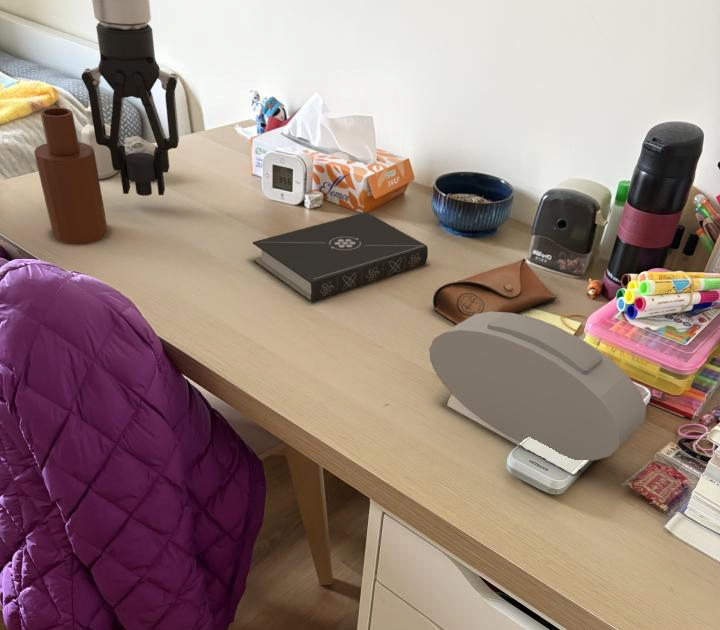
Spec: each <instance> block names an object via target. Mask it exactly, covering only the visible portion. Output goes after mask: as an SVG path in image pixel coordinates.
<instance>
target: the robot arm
mask: <svg viewBox="0 0 720 630" xmlns="http://www.w3.org/2000/svg"><path fill="white" fill-rule="evenodd" d="M91 2H92V8H93V14H94V18H95V19H96V20H97V21H98V23H97V25H96V35H97V43H98V49H99V50H98V51H99V57H100V59H99V63H98V66H96V67H94V68H85V69H84V71H83V72H82V74H81V80H82V82H83V84H84V86H85V88H86V90H87V93H88V99H89V100H90V106H91V113H92V119H93V125H94V132H95V138H96V142H97V144H99V145H104V146H106V147H108V148H109V149H110V152H111V159H112V166H113V169H114V170H116V171H118V172H120V173H119V174H120V180H121V188H122V194H123V195H128V194H129V193H130V190H131V181H130V180H128V179H127V175H126V167H125V159H124V158H125V156H126V152H125V146H124V145H123V144H122V145H121V144H120V142H121V141H120V137H121V130H122V129H121V128H122V121H123V120H122V119H123V109H124V102H125V101H124V100H125V99H126V98H131V97H132V98H135V99H140V101H141V104H142V106H143V109H144V112H145V114H146V117H147V120H148V123H149V125H150V129H151V131H152V134H153V137H154V141H155V143H156V147H155V151H154V158H155V167H156V176H157V180H156V183H157V195H158V196H164V194H165V189H166V187H165V177H164V173H169V170H170V159H169V150H172V149H178V146H179V142H180V135H179V124H178V113H177V101H176V88H177V84H178V80H179V79H178V78H179V77H178V75H177V74H176V73H168V72H166V71H163V70H161V68H160V66H159V65H158V63H157V60H156V55H155V45H154V44H155V43H154V34H153V28H152V27H151V25H150V24H149V23H150V22H151V20H152V15H151V13H152V12H151V6H150V0H91ZM101 77H102V78H103V79H104V80H105V82H106V83H107V84H108V85H109V87H110V88H111V89H112V91H113V93H112V109H111V118H110V127H111V129H110V136H109V135H106V129H105V116H104V110H103V109H104V108H103V103H102V102H103V101H102V98H101V97H102V96H101V90H100V84H101V82H102V81H101ZM158 80H159V81H160V84H161V88H162V89H163V90H164V91H165V95H164V96H165V97H164V98H165V107H166V108H165V109H166V119H167V129H168V137H166V134H165V131H164V128H163V125H162V122H161V118H160V116H159V113H158V110H157V107H156V103H155V100H154V96H153V93H152V90H153V88H154V86H155V84H156V83H157V81H158ZM89 100H88V101H89Z"/></svg>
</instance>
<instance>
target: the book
mask: <svg viewBox="0 0 720 630" xmlns="http://www.w3.org/2000/svg"><path fill="white" fill-rule="evenodd" d="M252 244H253V245H254V246H255V247H256V248H258V249H260V250H261V256H260V257H256V258H254V259H253V262H254V263H255V264H257V265H258V266H260V267H261V268H262V269H264V271H267V272H268V273H269V274H271V275H272V276H274V277H275V278H277V280H279V281H280V282H282V283H284V284H285V285H286V286H288V287H289V288H290V289H292V290H294V291H295V292H296V293H297V294H299V295H300V296H302V297H303V298H305V299H306V300H307V301H309V302H310V303H314V302H317V301H320V300H323V299H327V298H329V297H332V296H336V295H338V294H341V293H344V292H347V291H350V290H353V289H354V290H355V289H356V288H359V287H363V286H366V285H368V284H372V283H375V282H377V281H380V280H381V281H382V280H383V279H386V278H390V277H393V276H396V275H399V274H402V273H405V272H408V271H411V270H414V269H418V268H420V267H423V266H425V265H426V263H427V261H428V255H429V247H428V245H427V244H425V243H424V242H421V241H420V240H418V239H416V238H414V237H412V236H411V235H408V234H406V233H405V232H403V231H401V230H399V229H398V228H397V227H394V226H392V225H391V224H389V223H387V222H386V221H383V220H382V219H380V218H379V217H376V216H375V215H373V214H371V213H369V212H368V211H365V212H361V213H357V214H352V215H350V216H349V215H348V216H346V217H342V218H338V219H334V220H331V221H326V222H322V223H318V224H315V225H311V226H308V227H304V228H299V229H296V230H292V231H288V232H285V233H281V234H277V235H273V236H269V237H265V238H261V239H257V240H255V241H252Z"/></svg>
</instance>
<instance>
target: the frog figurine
mask: <svg viewBox="0 0 720 630" xmlns="http://www.w3.org/2000/svg"><path fill="white" fill-rule="evenodd" d="M122 145H124V146H125V152H126V155H128V154H131V153H148V154H152V155H154V151H155V147H157V145H155V144H154V143H151V142H149V141H148V140H145V139H144V138H142V137H141V136H138V135H134V136H133V135H132V136H131V137H130V136H127V137H125V138H124V143H123V144H122Z"/></svg>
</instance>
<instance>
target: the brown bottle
mask: <svg viewBox="0 0 720 630" xmlns="http://www.w3.org/2000/svg"><path fill="white" fill-rule="evenodd" d="M39 114H40V118H41V122H42V127H43V132H44V136H45V141H46V143H43V144H41V145H39V146H36V148H35V149H34V151H33V152H34V153H33V154H34V158H35V162H36V166H37V171H38V175H39V179H40V180H39V181H40V184H41V189H42V193H43V198H44V203H45V207H46V210H47V211H46V212H47V215H48V220H49V223H50V227H51V231H52V234H53V237H54V238H55V239H56V240H57V241H59V242H61V243H66V244H71V245H84V244H91V243H95V242H98V241H100V240H102V239H103V238H105V237H106V236H107V235H108V222H107V217H106V212H105V205H104V200H103V195H102V189H101V183H100V179H99V177H98V171H97V165H96V159H95V154H94V149H93V148H92V147H91V146H90V145H87V144H85V143H83V142H82V141H81V142H80V141H79V140H78V139H79V138H78V134H77V128H76V124H75V117H74V112H73V111H72V109H69V108H67V107H66V108H65V107H48V108H45V109H42V110H41V111H40V113H39Z"/></svg>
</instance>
